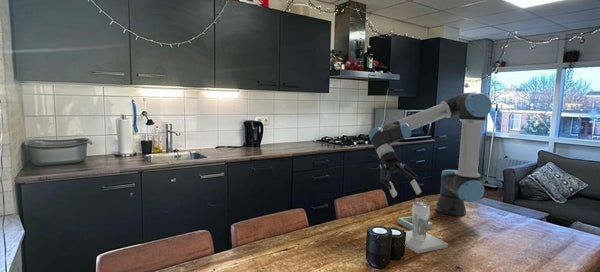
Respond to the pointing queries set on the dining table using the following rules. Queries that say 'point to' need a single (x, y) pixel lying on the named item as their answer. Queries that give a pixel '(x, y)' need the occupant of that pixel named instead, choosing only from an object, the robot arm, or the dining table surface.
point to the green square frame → (406, 220)
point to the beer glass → (420, 220)
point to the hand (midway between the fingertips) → (407, 194)
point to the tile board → (424, 243)
